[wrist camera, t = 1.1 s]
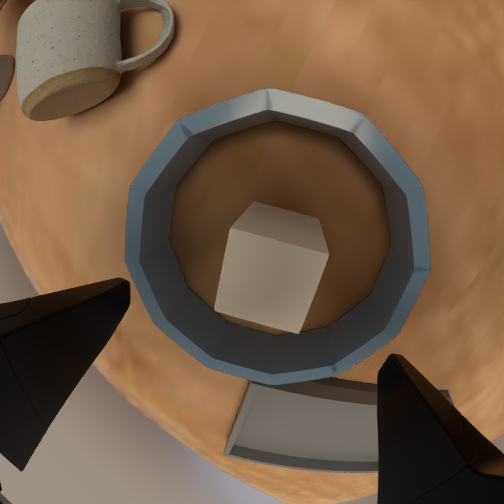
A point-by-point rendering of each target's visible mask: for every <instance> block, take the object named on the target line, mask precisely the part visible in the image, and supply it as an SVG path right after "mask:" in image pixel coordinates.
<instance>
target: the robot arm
mask: <svg viewBox="0 0 504 504" xmlns="http://www.w3.org/2000/svg"><path fill="white" fill-rule="evenodd" d="M129 306H130V282H129V281H128V280H125V279H122V278H114V279H110V280H105V281H101V282H96V283H92V284H88V285H83V286H79V287H74V288H70V289H66V290H61V291H57V292H53V293H48V294H44V295H40V296H35V297H32V298H27V299H23V300H18V301H13V302H8V303H1V304H0V453H1V454H2V455H3V456H4V457H5V458H6V459H7V460H9V461H10V462H11V463H12V464H13V465H14V466H15V467H17V468H18V469H19V470H20V471H23V470H24V468H25V466H26V465H27V463H28V461H29V459H30V458H31V456H32V454H33V453H34V451H35V449H36V448H37V446H38V444H39V443H40V441H41V439H42V438H43V436H44V435H45V433H46V431H47V430H48V428H49V426H50V425H51V423H52V422H53V420H54V418H55V417H56V415H57V414H58V412H59V411H60V409H61V408H62V406H63V405H64V403H65V402H66V400H67V399H68V397H69V396H70V394H71V393H72V391H73V390H74V388H75V387H76V385H77V384H78V383H79V381H80V380H81V378H82V377H83V376H84V374H85V373H86V371H87V370H88V369H89V367H90V366H91V364H92V363H93V362H94V360H95V359H96V358H97V356H98V355H99V353H100V352H101V351H102V349H103V348H104V347H105V345H106V344H107V343H108V341H109V340H110V338H111V337H112V335H113V333H114V332H115V330H116V328H117V326H118V325H119V323H120V321H121V320H122V318H123V316H124V315H125V313H126V311H127V310H128V308H129ZM377 429H378V501H377V504H504V454H503V453H502V452H501V451H500V450H499V449H498V448H497V447H496V446H494V445H493V444H492V443H491V442H490V441H489V440H488V439H487V438H486V437H484V436H483V435H482V434H481V433H480V432H479V431H478V430H477V429H476V428H475V427H474V426H473V425H472V424H471V423H470V422H469V421H468V420H467V419H466V418H465V417H464V416H462V414H461V413H460V412H459V411H458V410H457V409H456V408H455V407H454V406H453V405H452V404H451V403H450V402H449V401H448V400H447V399H446V398H445V397H444V396H443V395H442V394H441V393H440V392H439V391H438V390H437V389H436V388H435V387H434V386H433V385H432V384H431V383H430V382H429V381H428V380H427V379H426V378H425V377H424V376H423V375H422V374H421V373H420V372H419V371H418V370H417V369H416V368H415V367H414V366H413V365H412V364H411V363H409V362H408V361H407V360H406V359H405V358H404V357H403V356H402V355H399V354H390V355H389V356H388V358H387V359H386V361H385V362H384V364H383V365H382V367H381V368H380V370H379V372H378V377H377ZM1 490H2V487H1V483H0V492H1ZM0 504H12V503H11V502H9V501H8V500H7V499H6V498H5V497H4V496H3V495H2V494H1V493H0Z"/></svg>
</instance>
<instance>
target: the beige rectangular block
mask: <svg viewBox="0 0 504 504" xmlns="http://www.w3.org/2000/svg"><path fill="white" fill-rule="evenodd" d="M328 257H329V252H328V248H327V245H326V241H325V238H324V235H323V231H322V228H321V224H320V221H319V219H318V218H315V217H311V216H308V215H304V214H301V213H297V212H294V211H290V210H286V209H283V208H279V207H275V206H272V205H268V204H264V203H260V202H256V201H253V202H252V203H251V205H250V206H249V207H248V208H247V209H246V210H245V211H244V212H243V214H242V215H241V216H240V217H239V218H238V219H237V220H236V222H235V223H234V224H233V225H232V226H231V227H230V231H229V236H228V241H227V246H226V250H225V255H224V260H223V265H222V270H221V275H220V280H219V285H218V291H217V296H216V301H215V306H214V311H217V312H220V313H223V314H227V315H230V316H233V317H237V318H240V319H244V320H247V321H251V322H254V323H258V324H262V325H265V326H269V327H273V328H277V329H280V330H284V331H288V332H292V333H296V334H299V333H300V330H301V328H302V325H303V323H304V321H305V318H306V316H307V313H308V311H309V308H310V306H311V303H312V300H313V298H314V295H315V293H316V290H317V287H318V285H319V282H320V279H321V277H322V274H323V271H324V268H325V266H326V263H327V260H328Z"/></svg>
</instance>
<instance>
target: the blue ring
mask: <svg viewBox="0 0 504 504" xmlns="http://www.w3.org/2000/svg"><path fill="white" fill-rule="evenodd" d="M362 114H363V113H360V112H357V111H354V110H351V109H348V108H345V107H342V106H339V105H335V104H332V103H329V102H325V101H322V100H318V99H315V98H311V97H307V96H303V95H299V94H295V93H291V92H286V91H282V90H277V89H272V88H268V90H267V88H264V89H260V90H257V91H254V92H251V93H247V94H244V95H241V96H238V97H235V98H232V99H229V100H227V101H224V102H221V103H218V104H215V105H213V106H210V107H208V108H205V109H202V110H200V111H197V112H195V113H192V114H190V115H188V116H185V117H183V118H181V119H179V120H180V121H179V120H178V121H177V122H176V123H175V124H174V126H173V127H172V128H171V129H170V131H169V132H168V133H167V134H166V136H165V137H164V138H163V140H162V141H161V142H160V144H159V145H158V146H157V148H156V149H155V150H154V152H153V153H152V155H151V156H150V157H149V159H148V160H147V162H146V163H145V165H144V166H143V167H142V169H141V170H140V172H139V173H138V175H137V176H136V178H135V179H134V181H133V182H132V184H131V185H130V188H129V197H128V208H127V221H126V238H125V263H126V265H127V268H128V270H129V272H130V274H131V277H132V279H133V281H134V283H135V286H136V288H137V290H138V292H139V294H140V296H141V298H142V301H143V303H144V305H145V307H146V309H147V311H148V313H149V315H150V317H151V319H152V321H153V323H154V324H155V323H156V324H155V325H156V326H157V327H158V328H159V329H160V330H161V331H163V332H164V333H165V334H166V335H167V336H168V337H170V338H171V339H172V340H173V341H174V342H176V343H177V344H178V345H179V346H180V347H182V348H183V349H184V350H185V351H187V352H188V353H189V354H190V355H192V356H193V357H194V358H195V359H197V360H198V361H199V362H201V363H202V364H203V365H204V366H207V367H208V368H211V369H214V370H217V371H221V372H224V373H227V374H231V375H234V376H238V377H241V378H245V379H249V380H252V381H256V382H260V383H264V384H268V385H271V384H272V385H278V384H287V383H295V382H302V381H309V380H315V379H321V378H327V377H333V376H338V375H340V374H342V373H343V372H345V371H347V370H348V369H350V368H351V367H353V366H355V365H356V364H358V363H359V362H361V361H362V360H364V359H365V358H367V357H368V356H370V355H371V354H373V353H374V352H376V351H377V350H378V349H380V348H381V347H383V346H384V345H385V344H387V343H388V342H390V341H391V340H392V339H394V338H395V337H396V336H397V335H398V333H399V332H400V330H401V328H402V326H403V324H404V323H405V321H406V319H407V317H408V315H409V314H410V312H411V310H412V308H413V306H414V304H415V302H416V300H417V298H418V296H419V294H420V292H421V290H422V288H423V286H424V284H425V282H426V279H427V277H428V275H429V273H430V271H431V270H430V269H431V256H430V238H429V226H428V216H427V207H426V200H425V192H424V187H422V186H423V185H422V184H421V182H420V181H419V179H418V178H417V177H416V175H415V174H414V173H413V171H412V170H411V169H410V167H409V166H408V165H407V163H406V162H405V161H404V160H403V158H402V157H401V156H400V155H399V153H398V152H397V151H396V150H395V148H394V147H393V146H392V145H391V144H390V143H389V141H388V140H387V139H386V138H385V137H384V136H383V134H382V133H381V132H380V131H379V130H378V129H377V128H376V127H375V125H374V124H373V123H372V122H371V121H370V120H369V119H368V118H367V117H366V116H365V115H363V116H362ZM274 120H278V121H282V122H286V123H290V124H294V125H298V126H302V127H306V128H309V129H313V130H317V131H320V132H323V133H327V134H330V135H333V136H337V137H339V138H340V139H341V140H342V141H343V142H344V143H345V144H346V145H347V146H348V147H349V148H350V149H351V150H352V151H353V152H354V153H355V154H356V156H357V157H358V158H359V159H360V160H361V161H362V162H363V163H364V164H365V166H366V167H367V168H368V169H369V170H370V171H371V172H372V174H373V175H374V176H375V177H376V178H377V180H378V181H379V182H380V183H381V184H382V187H383V192H384V198H385V203H386V209H387V215H388V222H389V228H390V236H391V243H392V244H391V246H390V249H389V251H388V254H387V257H386V259H385V262H384V264H383V266H382V269H381V271H380V274H379V276H378V278H377V281H376V283H375V285H374V287H373V290H372V292H371V294H370V295H369V296H368V297H367V298H365V299H364V300H363V301H362V302H360V303H359V304H358V305H357V306H355V307H354V308H353V309H351V310H350V311H349V312H348V313H346V314H345V315H344V316H342V317H341V318H340V319H338V320H337V321H336V322H334V323H333V324H332V325H330V326H329V327H325V328H320V329H315V330H309V331H304V332H300V333H299V334H296V333H293V334H287V335H281V336H275V335H271V334H268V333H264V332H260V331H256V330H253V329H249V328H246V327H242V326H239V325H235V324H232V323H228V322H227V321H226V320H224V319H223V318H222V317H221V316H220V315H219V314H217V313H216V312H215V311H214V310H213V309H212V308H210V307H209V306H208V305H207V304H206V303H205V302H204V301H202V300H201V299H200V298H199V297H198V296H197V295H196V294H195V293H193V292H192V291H191V290H190V289H189V288H188V285H187V283H186V281H185V278H184V276H183V273H182V271H181V268H180V266H179V263H178V261H177V258H176V256H175V253H174V251H173V248H172V245H171V243H170V240H169V236H170V228H171V220H172V213H173V206H174V199H175V193H176V186H177V184H178V183H179V181H180V180H181V179H182V177H183V176H184V175H185V174H186V173H187V171H188V170H189V169H190V168H191V166H192V165H193V164H194V163H195V162H196V160H197V159H198V158H199V157H200V156H201V154H202V153H203V152H204V151H205V150H206V149H207V147H208V146H209V145H210V144H211V143H212V142H213V140H214V139H217V138H220V137H222V136H225V135H228V134H231V133H234V132H237V131H240V130H244V129H247V128H250V127H253V126H256V125H260V124H263V123H267V122H270V121H274Z"/></svg>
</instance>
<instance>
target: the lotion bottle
mask: <svg viewBox="0 0 504 504" xmlns="http://www.w3.org/2000/svg"><path fill="white" fill-rule="evenodd" d="M13 70H14V60H13V58H12V57H11V56H7V55H0V99H1V98H2V97H3V96H4V95H5V93H6V91H7V89H8V87H9V84H10V82H11V79H12V75H13Z"/></svg>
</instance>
